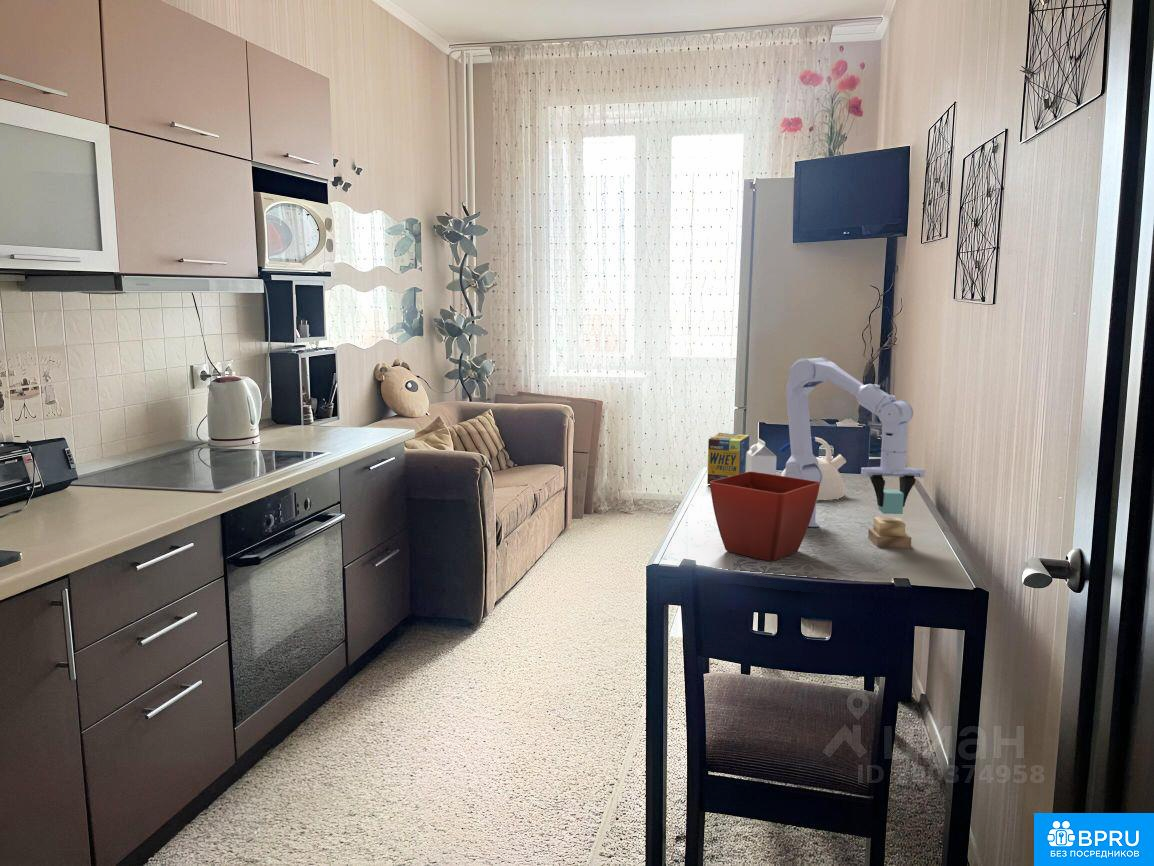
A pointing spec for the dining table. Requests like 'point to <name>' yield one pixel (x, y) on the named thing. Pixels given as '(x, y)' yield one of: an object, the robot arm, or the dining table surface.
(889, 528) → the oak slab
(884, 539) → the brown square slab
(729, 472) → the protein box
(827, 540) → the dining table surface
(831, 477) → the kettle
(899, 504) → the teal block
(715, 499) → the plant pot
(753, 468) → the milk carton
